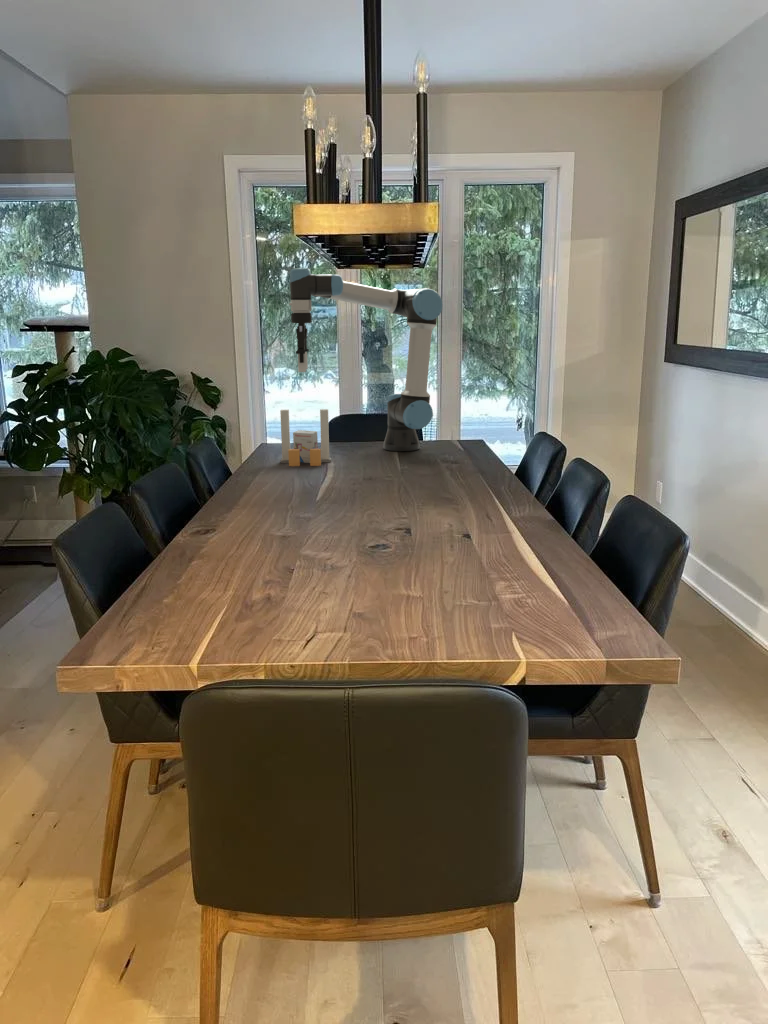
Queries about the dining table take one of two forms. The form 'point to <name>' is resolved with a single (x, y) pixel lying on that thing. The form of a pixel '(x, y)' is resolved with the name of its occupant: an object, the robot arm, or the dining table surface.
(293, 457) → the paddle
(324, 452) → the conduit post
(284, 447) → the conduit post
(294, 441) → the ink box
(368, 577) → the dining table surface
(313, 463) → the paddle
